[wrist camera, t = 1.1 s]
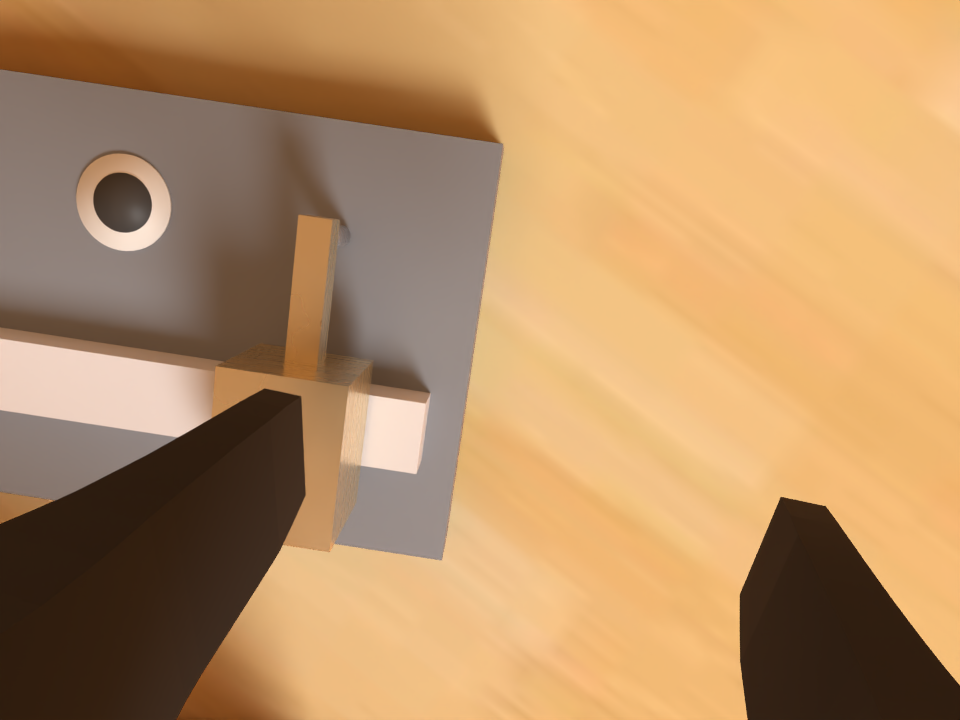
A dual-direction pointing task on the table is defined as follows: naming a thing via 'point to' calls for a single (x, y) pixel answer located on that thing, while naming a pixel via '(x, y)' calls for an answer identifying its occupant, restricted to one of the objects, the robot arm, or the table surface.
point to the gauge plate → (229, 282)
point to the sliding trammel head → (311, 387)
